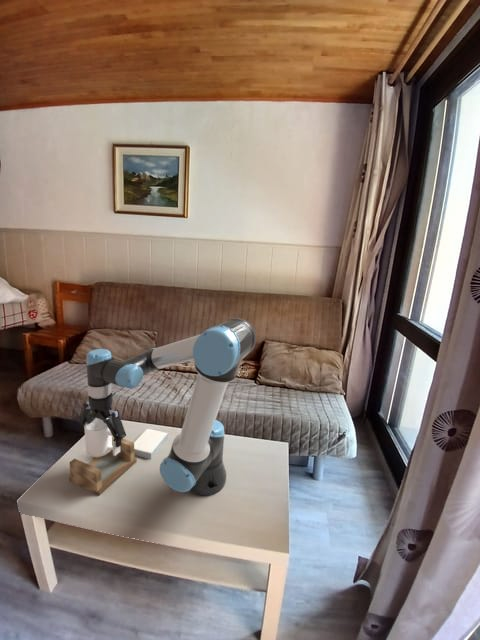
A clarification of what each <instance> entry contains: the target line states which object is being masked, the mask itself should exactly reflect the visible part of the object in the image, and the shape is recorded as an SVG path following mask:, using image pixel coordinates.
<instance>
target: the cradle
mask: <svg viewBox="0 0 480 640" xmlns="http://www.w3.org/2000/svg"><path fill="white" fill-rule="evenodd" d="M112 439H114V438H113V437H112ZM134 442H135V441H134ZM134 442H133V441H130V440H128V439H125V438H123V439H121V446H120V452H119V453H118V454H117V455H116V456H113V450H111V451H110V452H109V453H107V454H106V455H104V456H101V457H94V459H92V460H91V461H90V462H88V463H86V462H83V461H81V460H79V459H77V458H73V459H72V460H70V461H69V472H70V477H69V478H68V480H69V481H68V482H70V483H72V484H74V485H76V486H79V487H81V488H83V489H85V490H87V491H90V492H92V493H94V494H95V495H97V496H101V495H102V494H103V493H105V491H107V490H108V489H109V488H110V487H111V485H113V484H114V483H115V482H116V481H117V480H119V478H121V477H122V475H124V474H125V473H126V472H127V471H128V470H129V469H130V468H132V467H133V466H134V465H135V464H136V463H137V458H136V457H135V455H134ZM112 446H113V440H112Z"/></svg>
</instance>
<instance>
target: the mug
mask: <svg viewBox="0 0 480 640" xmlns="http://www.w3.org/2000/svg"><path fill="white" fill-rule="evenodd" d="M107 419H109V417H108V418H107ZM107 419H106V420H107ZM84 428H85V431H84V441H85V452H86V454H87V456H89V457H91V458H96V457H101V456H104V455H106V454H107V453H109V452H110V451H111V450H113V446H112V437H113V435H112V433H111V432H110V430H109V428H108V426H107V424H106V423H104V422H103V420H101V419H98V418H95V420H94V421H93V422H92V423H90V424H87V423H86V424H85V426H84V427H83V429H84ZM113 438H114V437H113Z"/></svg>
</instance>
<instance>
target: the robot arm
mask: <svg viewBox="0 0 480 640" xmlns="http://www.w3.org/2000/svg"><path fill="white" fill-rule="evenodd" d="M256 342H257V335H256V331H255V329H254V326H253V325H252V324H251V323H250V322H249V321H248V320H245V319H243V318H240V317H239V318H238V317H237V318H236V317H235V318H234V317H233V318H230V319H227V320H226V321H223V322H220V323H219V324H217V325H215V326H211V327H209V328H207V329H206V330H204V331H203V332H202V333H200V334H197V335H194V336H191V337H188V338H184V339H181V340H177V341H175V342H172V343H168V344H164V345H162V346H158V347H153V348H149V349H147V350H145V351H144V352H141V353H139V354H137V355H135V356H132V357H130V358H128V359H125V360H124V361H121V360H117V359H113V357H112V353H111V351H110V350H109V349H105V348H96V349H93V350H90V351H88V352H87V353H86V359H85V361H86V364H85V366H86V376H87V377H86V378H87V395H88V397H87V398H88V401H87V402H85V403H83V409H82V413H81V416H80V419H79V422H78V424H79V426H82V427H83V429H84V432H85V428H84V426H85V424H86V423H87V424H90V423H92V422H93V421H94V420H95V418H98V419H101V420H103V422H104V423H106V424H107V426H108V428H109V430H110V432H111V433H112V435H113V437H114V439H112V440H113V456H116V455H117V454H118V453H119V452H120V446H121V439H125V437H126V436H127V434H126V431H125V428H124V424H123V422H122V420H121V419H122V418H121V417H120V410H119V409H116V410H113V409H112V404H113V402H114V400H113V385H116V386H118V387H121V388H125V389H129V390H130V389H131V390H133V389H136V388H138V387H139V385H140V384H141V383H142V382H143V379H144V377H145V376H146V375H148V374H150V373H152V372H154V371H159V370H161V369H164V368H168V367H173V366H176V365H180V364H184V363H188V362H191V361H195V362H194V364H195V365H194V369H195V372H197V374H198V375H197V377H196V381H195V384H194V387H193V391H192V394H191V398H190V401H189V405H188V408H187V410H186V414H185V417H184V420H183V423H182V428H181V432H180V433H179V434H178V435H176V436H175V438H174V439H173V441H172V443H171V448H170V450H169V453H168V455H167V456H166V457H165V458H163V460H162V461H161V463H160V464H159V465H160V466H159V473H160V476H161V478H162V480H163V482H164V483H165V484H166V485H167V486H168V487H169V488H171V489H172V490H174V491H176V492H178V493H186V492H191V493H192V494H196V495H199V496H210V495H211V496H212V495H215V494H217V493H219V492H220V491H221V490H222V489H223V488H224V487H225V485H226V482H227V471H226V468H225V464H224V461H223V459H224V457H223V455H224V445H225V444H224V442H225V434H226V433H225V427H224V424H223V423H222V422H220V421H219V420H217V416H218V414H219V410H220V407H221V404H222V403H223V398H224V396H225V392H226V390H227V387H228V384H229V383H231V382H233V381H235V380H236V377H237V375H238V371H239V368H240V366H241V363H242V360H244V359H245V357H246V356H248V355H249V354H251V352H252V351H253V349H254V348H255V346H256ZM107 418H108V419H107ZM106 419H107V420H106Z"/></svg>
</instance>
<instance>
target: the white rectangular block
mask: <svg viewBox="0 0 480 640" xmlns="http://www.w3.org/2000/svg"><path fill="white" fill-rule="evenodd" d="M168 439H169V433H168V432H165V431H159V430H155V429H151V428H146V430H144V432H143V433H142V434H141V435H139V436H138V438H137V439H135V441H134V456H137V457H138V456H139V457H141V458H145V459H150V460H151V459H153V457H154V456H156V454H157V453H158V451H159V450H160V449H161V447H163V445H164V443H166V442H167V440H168Z"/></svg>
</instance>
